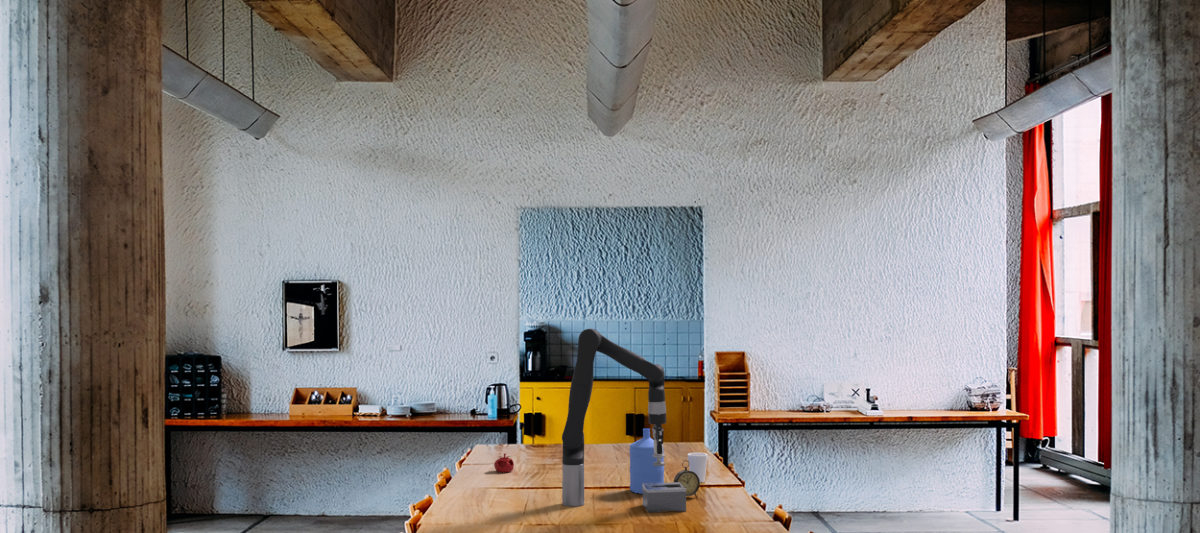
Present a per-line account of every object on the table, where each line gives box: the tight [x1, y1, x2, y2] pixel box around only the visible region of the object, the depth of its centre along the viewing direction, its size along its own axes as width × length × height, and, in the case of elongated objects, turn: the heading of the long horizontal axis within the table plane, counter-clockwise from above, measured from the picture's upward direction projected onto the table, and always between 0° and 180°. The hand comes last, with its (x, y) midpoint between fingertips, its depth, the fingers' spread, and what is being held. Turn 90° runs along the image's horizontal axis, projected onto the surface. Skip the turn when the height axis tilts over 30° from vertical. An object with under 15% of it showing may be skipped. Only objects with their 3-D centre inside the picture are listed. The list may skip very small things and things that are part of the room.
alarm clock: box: [673, 459, 701, 498], centre depth 396 cm, size 11×5×16 cm, turn 105°
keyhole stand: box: [642, 481, 687, 513], centre depth 377 cm, size 16×14×9 cm
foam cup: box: [687, 452, 709, 483], centre depth 430 cm, size 10×9×13 cm
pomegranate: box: [493, 452, 515, 473], centre depth 460 cm, size 10×10×9 cm
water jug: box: [629, 428, 665, 495], centre depth 411 cm, size 16×16×28 cm
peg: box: [653, 439, 666, 467], centre depth 382 cm, size 5×5×10 cm
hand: (658, 452), depth 382 cm, fingers closed on peg, 4 cm apart
